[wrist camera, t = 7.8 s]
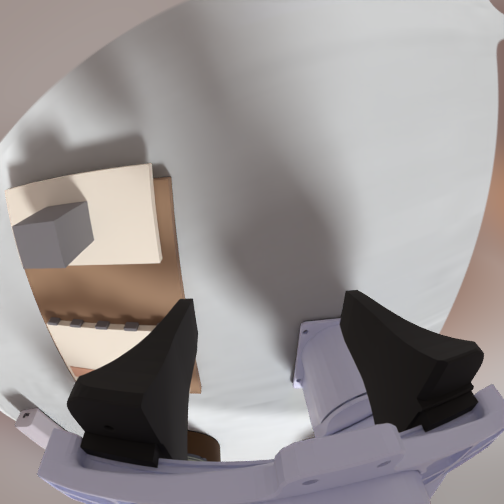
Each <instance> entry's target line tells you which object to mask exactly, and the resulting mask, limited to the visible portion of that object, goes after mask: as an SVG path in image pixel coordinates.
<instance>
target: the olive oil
mask: <svg viewBox="0 0 504 504" xmlns="http://www.w3.org/2000/svg"><path fill="white" fill-rule="evenodd" d="M187 454H188V461H207V462H221V461H220V445H219V443H218V442H217V441H216V440H215V439H213V438H212V437H210V436H207V435H205V434H202V433H198V432H193V431H187Z"/></svg>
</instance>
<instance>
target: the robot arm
mask: <svg viewBox="0 0 504 504" xmlns="http://www.w3.org/2000/svg"><path fill="white" fill-rule="evenodd" d="M305 330H307V331H305ZM303 331H305V332H303ZM197 341H198V330H197V324H196V317H195V311H194V304H193V299H179V300H178V301H177V303H176V304H175V305H174V306H173V308H172V309H171V310H170V311H169V312H168V314H167V315H166V316H165V317H164V318H163V319H162V321H161V322H160V323H159V324H158V325H157V326H156V327H155V328H154V329H153V330H152V331H151V332H150V333H149V334H148V335H147V336H146V337H145V338H144V339H143V340H142V341H140V342H139V343H138V344H137V345H136V346H134V347H133V348H132V349H130V350H129V351H127V352H126V353H124V354H123V355H121V356H120V357H118V358H117V359H115V360H113V361H112V362H110V363H108V364H106V365H104V366H102V367H100V368H98V369H96V370H93V371H91V372H89V373H86V374H84V375H81V376H79V377H78V379H77V381H76V383H75V385H74V387H73V389H72V391H71V394H70V396H69V398H68V401H67V407H68V410H69V411H70V413H71V415H72V416H73V417H74V419H75V420H76V421H77V422H78V424H79V425H80V426H81V427H82V429H83V430H84V431H85V433H84V436H83V438H82V437H81V436H79V435H77V434H74V433H71V432H67V431H64V430H61V429H58V428H53V431H52V433H51V436H50V438H49V441H48V444H47V446H46V449H45V452H44V455H43V458H42V461H41V464H40V467H39V470H38V473H37V475H38V476H39V477H40V478H41V479H43V480H44V481H45V482H47V483H48V484H50V485H51V486H53V487H54V488H55V489H57V490H59V491H60V492H62V493H63V494H65V495H66V496H68V497H70V498H72V499H74V500H77V501H80V502H83V503H86V504H431V502H430V499H431V497H432V496H433V494H434V493H435V491H436V490H437V488H438V487H439V485H440V484H441V482H442V481H443V479H444V478H445V476H446V474H447V473H448V472H450V471H451V470H453V469H454V468H457V467H458V466H460V465H461V464H463V463H464V462H466V461H468V460H469V459H471V458H472V457H474V456H475V455H477V454H478V453H480V452H481V451H482V450H484V449H485V448H487V447H488V446H489V445H490V444H491V443H492V442H493V441H494V440H495V439H496V438H497V437H498V436H499V435H500V434H501V433H502V432H503V431H504V399H503V398H502V396H501V395H500V393H499V392H498V390H497V389H496V388H495V386H494V385H493V384H491V385H489V386H487V387H485V388H484V389H482V390H480V391H478V392H477V393H476V394H475V395H473V393H472V390H473V387H474V386H473V385H472V383H471V381H472V379H473V378H474V376H475V375H476V373H477V371H478V370H479V368H480V366H481V364H482V362H483V359H484V353H483V352H482V350H481V349H480V348H479V347H478V345H477V344H476V343H475V342H473V341H467V340H461V339H455V338H451V337H448V336H443V335H441V334H437V333H435V332H432V331H429V330H426V329H424V328H421V327H419V326H417V325H415V324H413V323H411V322H409V321H407V320H405V319H403V318H401V317H400V316H398V315H396V314H394V313H393V312H391V311H390V310H388V309H386V308H385V307H383V306H382V305H380V304H379V303H377V302H376V301H374V300H373V299H371V298H370V297H368V296H367V295H365V294H363V293H362V292H360V291H358V290H351V291H346V293H345V298H344V304H343V309H342V314H341V318H337V319H327V320H317V321H306V322H303V323H302V324H301V325H300V333H299V341H298V349H297V357H296V364H295V371H294V379H293V387H294V388H303V392H304V396H305V400H306V404H307V408H308V412H309V416H310V421H311V425H312V427H313V430H314V435H315V438H311V439H307V440H303V441H299V442H294V443H292V444H290V445H288V446H286V447H284V448H282V449H281V450H280V451H279V453H278V454H277V455H276V456H275V459H271V460H258V461H236V462H207V461H188V454H187V426H188V401H189V391H190V385H191V380H192V374H193V369H194V364H195V358H196V353H197Z"/></svg>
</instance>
